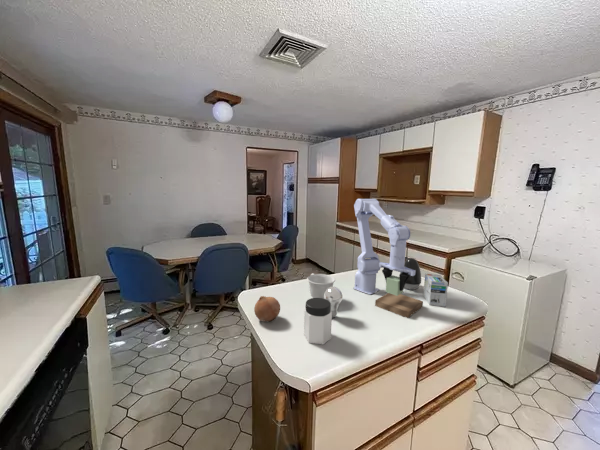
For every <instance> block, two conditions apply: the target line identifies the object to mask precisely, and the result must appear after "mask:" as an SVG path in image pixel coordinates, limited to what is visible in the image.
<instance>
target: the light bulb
mask: <svg viewBox="0 0 600 450" xmlns="http://www.w3.org/2000/svg"><path fill="white" fill-rule="evenodd" d="M342 293H343V292H342V291H341V290H340V288H338V287H337V286H333V287H329V288H327V289H326V291H325V293H324V299H326V300H328V301H329V302H330V303H331V312H332V319H333V318H335V317H336V316H337V314H338V309H339V306H340V304H341V303H342V301H343V294H342Z"/></svg>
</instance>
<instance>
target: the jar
mask: <svg viewBox="0 0 600 450" xmlns="http://www.w3.org/2000/svg"><path fill="white" fill-rule="evenodd" d="M303 312H304V313H303V314H304V316H303V319H304V320H303V321H304V322H303V336H304V338H305V339H306V341H307V342H308V344H316V345H325V343H327V342H328V341H329V340H331V339H332V323H333V322H332V319H333V318H332V312H331V303H330V302H329V301H328V300H326V299H323V298H313V297H311V298H308V299H307V300H306V301H305V308H304V311H303Z"/></svg>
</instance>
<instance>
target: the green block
mask: <svg viewBox="0 0 600 450" xmlns="http://www.w3.org/2000/svg"><path fill="white" fill-rule="evenodd" d="M385 292H386V294H387V293H390V294H393V295H396V296H398V295H399V294H403V293H404V290H402V291H400V277H399V276H396V275H393V274H392V276H390V277H388V278H387V280H385Z"/></svg>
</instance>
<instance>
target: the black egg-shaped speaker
mask: <svg viewBox="0 0 600 450" xmlns="http://www.w3.org/2000/svg"><path fill="white" fill-rule="evenodd" d="M404 267H407V268H410V269H412V270H416V271H415V275H414V276H411V275H410V277H409V278H408V280H407V282H406V284H405V286H404V289H407V290H409V291H410V290H416V289H418V288H419V287H420V285H421V284H422V273H421V272H422V271H421V268H420V264H419V263H418V260H417V259H415V258H413V257H408V256H405V264H404ZM400 274H402V273H401V272H399V275H400Z"/></svg>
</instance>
